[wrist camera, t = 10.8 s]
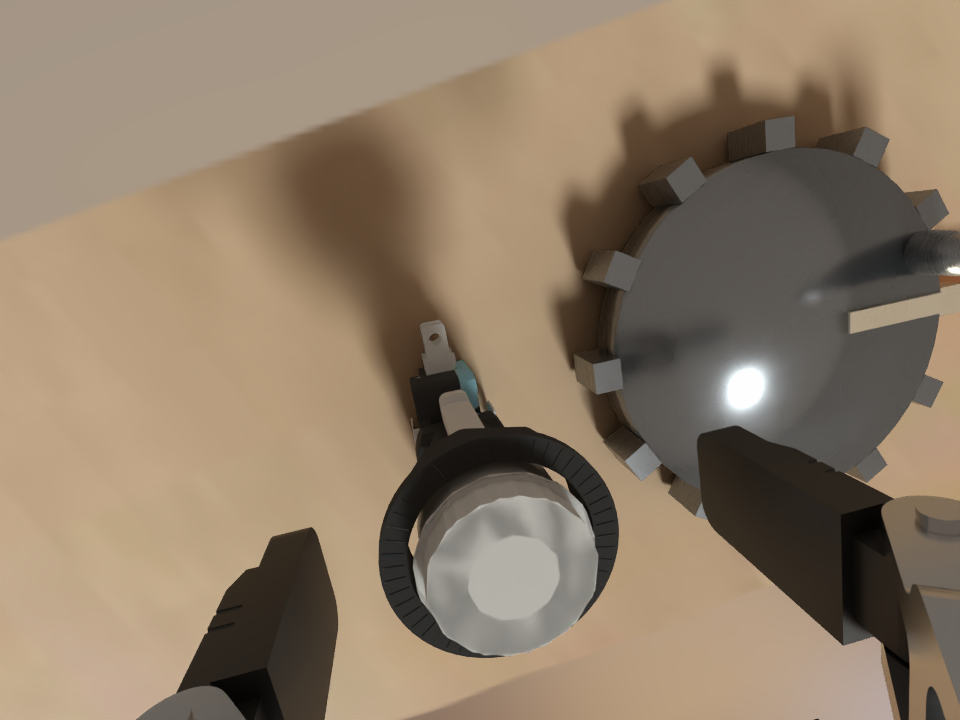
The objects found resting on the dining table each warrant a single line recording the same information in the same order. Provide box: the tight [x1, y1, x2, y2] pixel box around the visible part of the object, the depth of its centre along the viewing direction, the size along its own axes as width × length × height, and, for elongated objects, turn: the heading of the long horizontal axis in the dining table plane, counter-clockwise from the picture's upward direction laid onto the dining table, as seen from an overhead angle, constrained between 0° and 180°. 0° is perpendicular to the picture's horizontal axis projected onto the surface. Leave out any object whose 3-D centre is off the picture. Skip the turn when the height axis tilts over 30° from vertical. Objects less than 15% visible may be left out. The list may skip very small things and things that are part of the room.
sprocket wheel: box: [573, 116, 960, 520], centre depth 18 cm, size 15×15×6 cm
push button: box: [379, 320, 619, 658], centre depth 15 cm, size 7×5×10 cm
